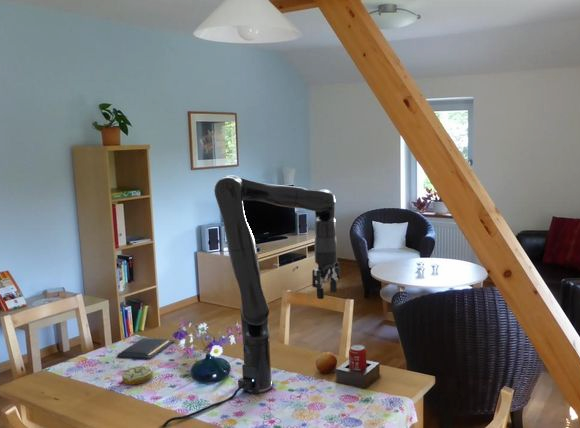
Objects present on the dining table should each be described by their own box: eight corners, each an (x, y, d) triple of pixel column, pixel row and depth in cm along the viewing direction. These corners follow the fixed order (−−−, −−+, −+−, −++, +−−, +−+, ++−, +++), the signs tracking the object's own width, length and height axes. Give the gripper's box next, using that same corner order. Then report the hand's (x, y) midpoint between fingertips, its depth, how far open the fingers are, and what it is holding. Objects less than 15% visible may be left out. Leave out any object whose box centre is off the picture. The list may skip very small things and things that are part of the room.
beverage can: (369, 376, 207) (369, 345, 205) (362, 384, 201) (362, 351, 199) (353, 374, 209) (353, 343, 208) (346, 381, 204) (345, 349, 202)
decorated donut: (117, 380, 209) (116, 370, 208) (145, 371, 216) (144, 361, 216) (129, 388, 201) (128, 378, 201) (158, 378, 209) (157, 369, 208)
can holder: (364, 388, 197) (364, 375, 197) (336, 382, 203) (335, 368, 202) (379, 375, 207) (379, 362, 207) (352, 370, 213) (351, 357, 212)
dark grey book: (143, 335, 249) (174, 337, 245) (143, 339, 249) (175, 341, 246) (114, 352, 230) (148, 355, 226) (115, 357, 230) (148, 360, 226)
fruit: (341, 371, 209) (330, 353, 208) (323, 382, 209) (312, 364, 208) (342, 362, 217) (331, 345, 216) (325, 372, 217) (313, 355, 216)
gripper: (327, 244, 200) (328, 288, 203) (304, 252, 188) (306, 299, 190) (345, 246, 197) (346, 291, 199) (324, 254, 184) (325, 302, 187)
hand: (327, 295), depth 195 cm, fingers open, 8 cm apart
